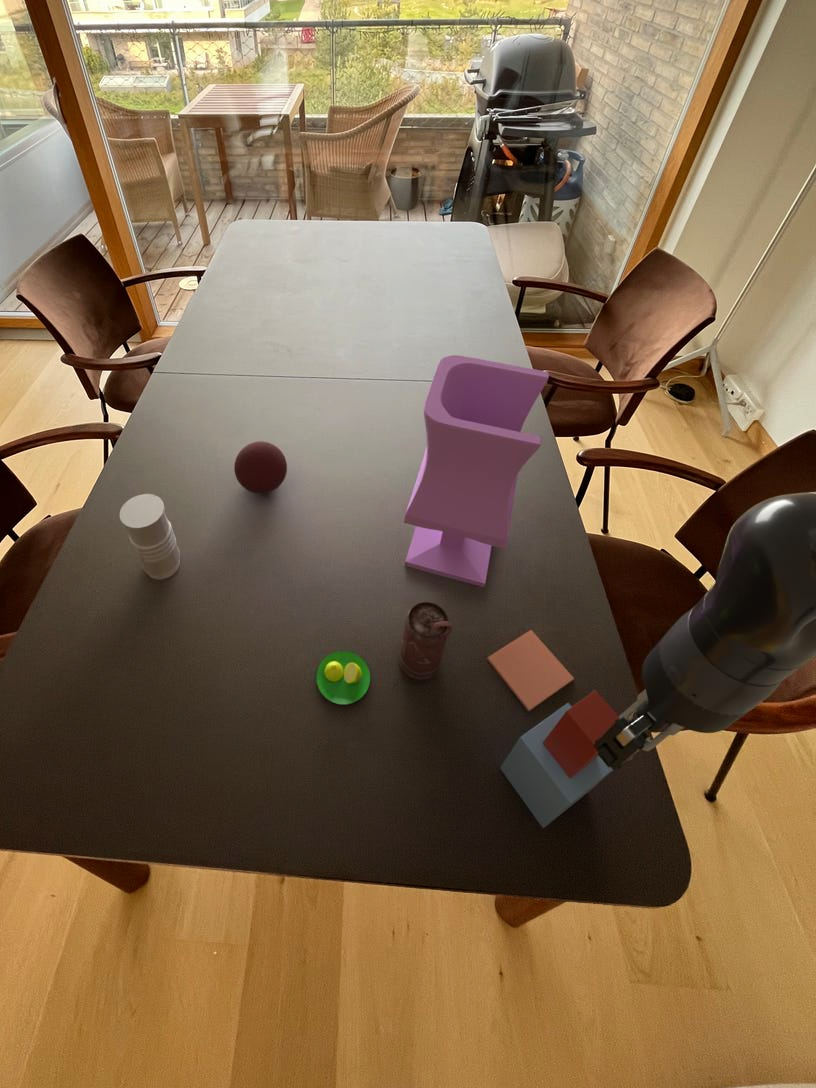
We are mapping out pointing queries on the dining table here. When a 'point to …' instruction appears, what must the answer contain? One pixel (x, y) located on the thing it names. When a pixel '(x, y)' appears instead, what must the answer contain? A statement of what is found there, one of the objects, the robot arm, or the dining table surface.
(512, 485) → the vase
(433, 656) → the brown drink cup
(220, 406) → the dining table surface
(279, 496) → the dining table surface
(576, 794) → the blue stand
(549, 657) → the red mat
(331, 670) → the green plate with lemons
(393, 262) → the dining table surface
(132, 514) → the white ridged cylinder
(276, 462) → the decorative ball
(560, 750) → the red post
